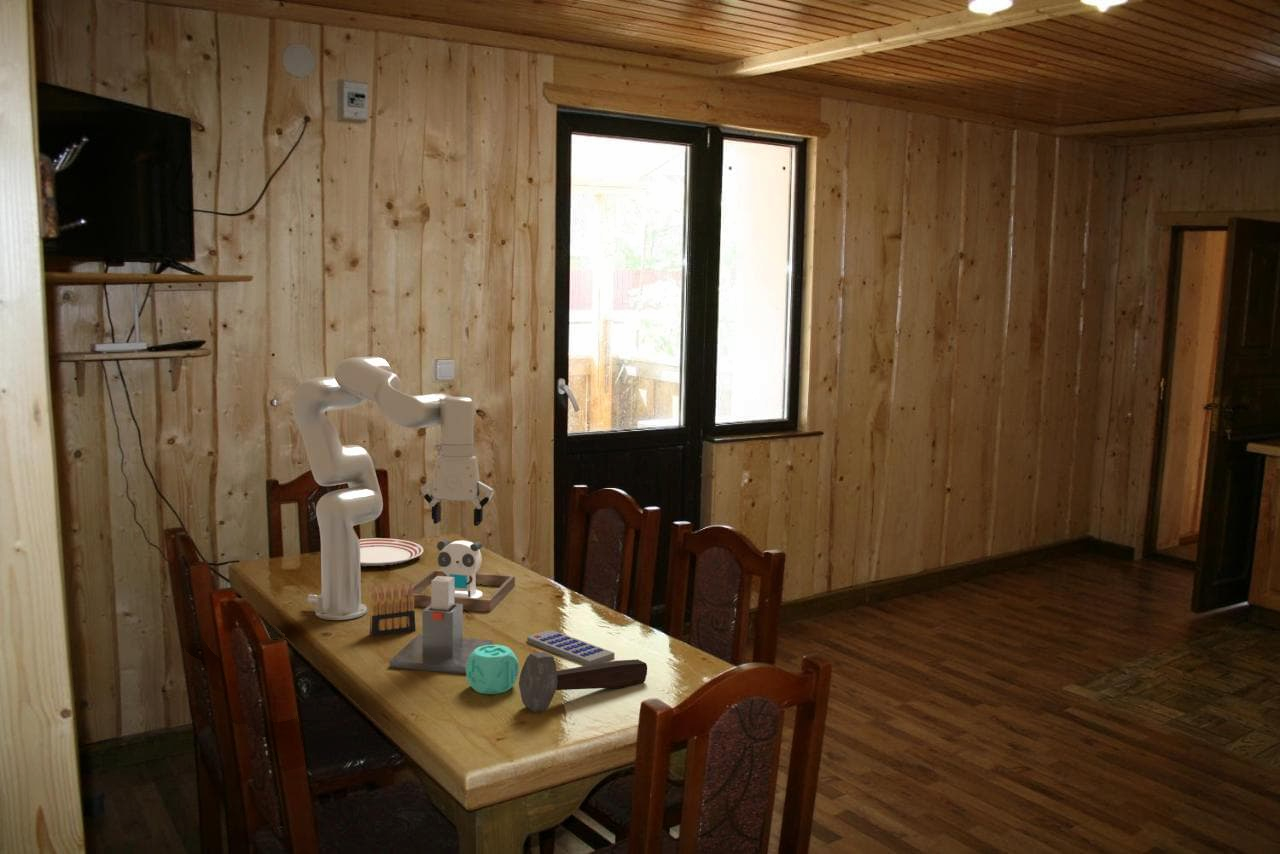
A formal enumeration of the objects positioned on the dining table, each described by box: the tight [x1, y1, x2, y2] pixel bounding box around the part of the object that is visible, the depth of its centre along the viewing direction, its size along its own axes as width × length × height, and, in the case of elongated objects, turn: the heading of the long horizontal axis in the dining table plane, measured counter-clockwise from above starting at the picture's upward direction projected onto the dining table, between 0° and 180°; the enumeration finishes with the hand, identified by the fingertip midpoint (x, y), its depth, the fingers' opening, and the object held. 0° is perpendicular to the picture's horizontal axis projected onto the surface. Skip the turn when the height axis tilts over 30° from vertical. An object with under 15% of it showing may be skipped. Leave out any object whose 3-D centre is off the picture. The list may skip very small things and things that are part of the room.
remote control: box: [527, 629, 615, 666], centre depth 245 cm, size 8×23×2 cm, turn 46°
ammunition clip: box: [369, 582, 416, 637], centre depth 252 cm, size 11×2×12 cm, turn 118°
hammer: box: [518, 652, 648, 714], centre depth 218 cm, size 5×11×30 cm
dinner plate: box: [358, 537, 424, 567], centre depth 319 cm, size 27×27×3 cm
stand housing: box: [389, 603, 494, 675], centre depth 237 cm, size 18×18×12 cm
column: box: [430, 576, 454, 612], centre depth 237 cm, size 4×4×16 cm
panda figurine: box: [436, 538, 484, 599], centre depth 284 cm, size 12×11×15 cm
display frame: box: [406, 569, 516, 612], centre depth 284 cm, size 24×24×3 cm
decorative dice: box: [465, 644, 520, 695], centre depth 220 cm, size 8×8×8 cm
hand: (457, 523), depth 244 cm, fingers open, 9 cm apart
